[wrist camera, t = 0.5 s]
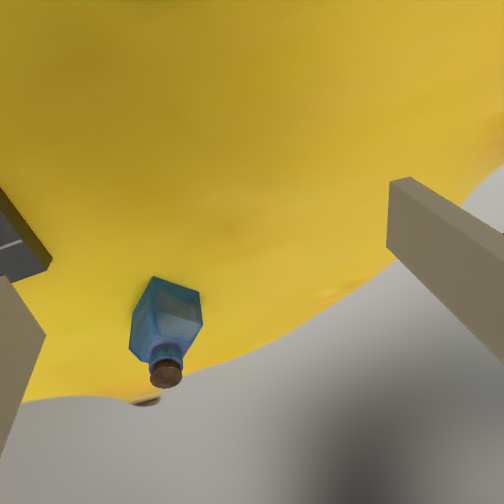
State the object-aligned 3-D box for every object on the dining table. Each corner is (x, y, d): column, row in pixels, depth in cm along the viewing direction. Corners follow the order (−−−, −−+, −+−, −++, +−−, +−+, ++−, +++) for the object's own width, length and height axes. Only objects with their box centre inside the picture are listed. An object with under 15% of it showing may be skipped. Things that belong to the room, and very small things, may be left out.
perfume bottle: (132, 312, 46) (123, 391, 36) (152, 276, 44) (149, 348, 34) (177, 326, 49) (180, 403, 39) (198, 291, 47) (208, 364, 37)
